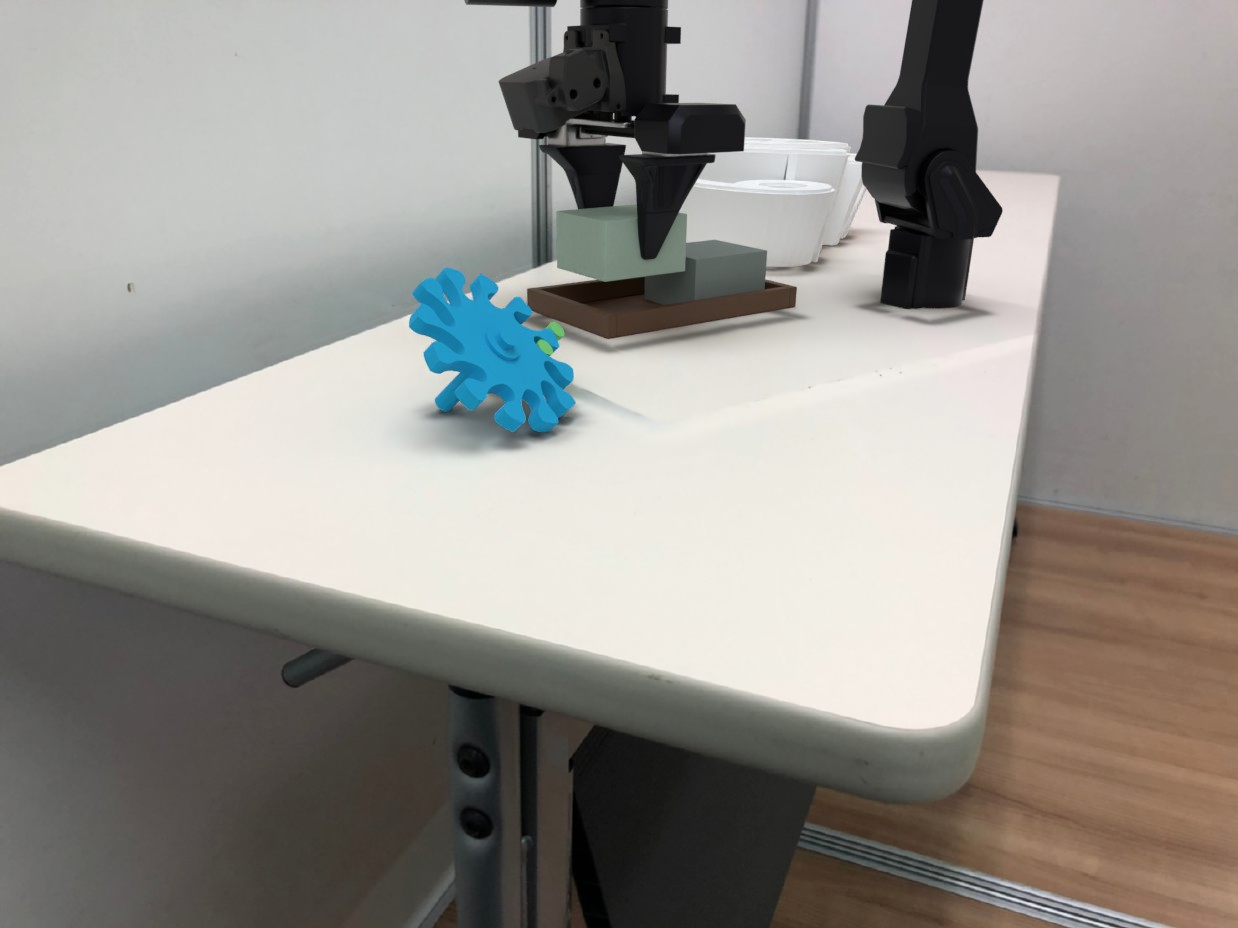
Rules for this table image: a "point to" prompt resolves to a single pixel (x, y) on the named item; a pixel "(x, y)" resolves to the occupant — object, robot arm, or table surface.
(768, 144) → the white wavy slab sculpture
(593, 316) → the tray
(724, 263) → the pad
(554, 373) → the gear
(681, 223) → the pale green block
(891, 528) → the table surface
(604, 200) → the robot arm
